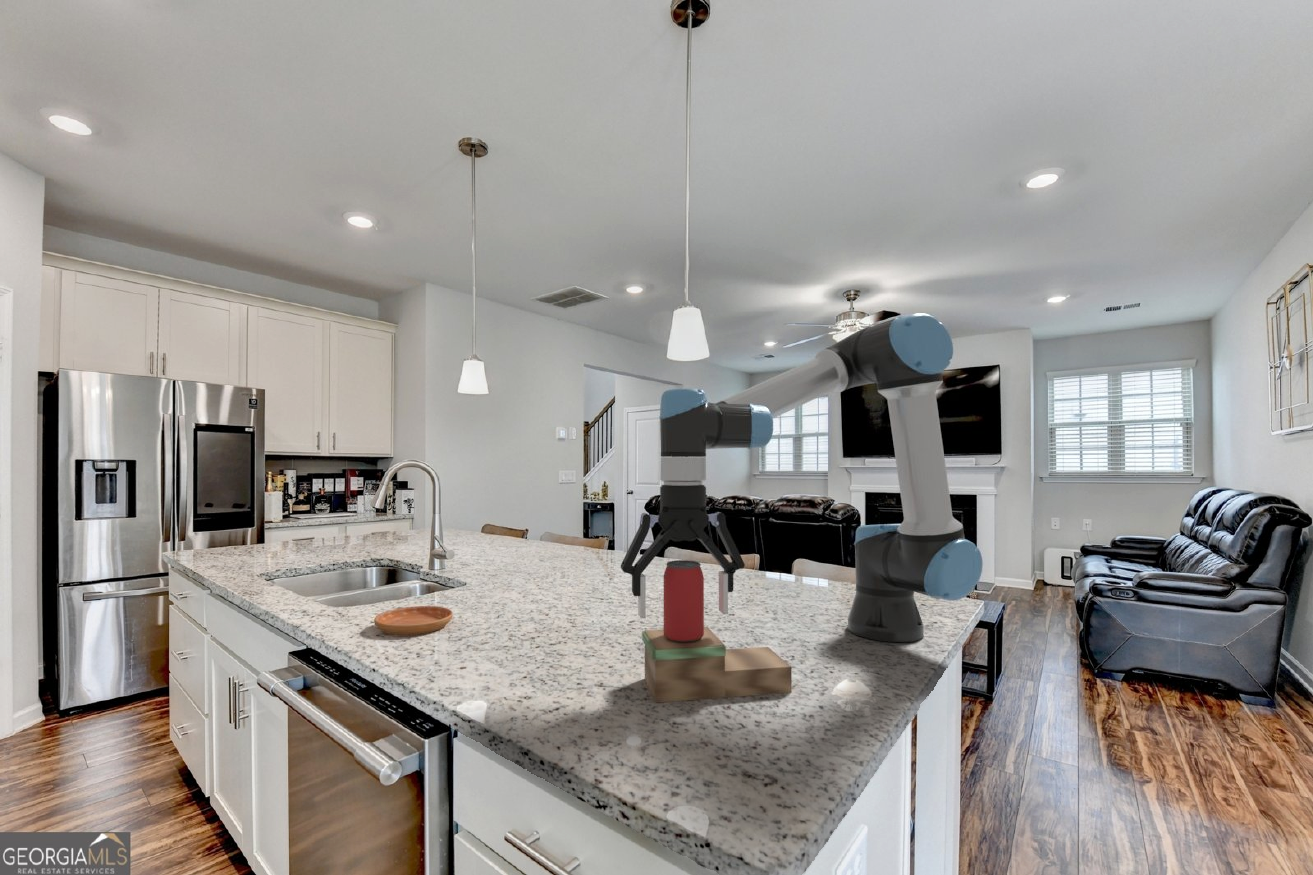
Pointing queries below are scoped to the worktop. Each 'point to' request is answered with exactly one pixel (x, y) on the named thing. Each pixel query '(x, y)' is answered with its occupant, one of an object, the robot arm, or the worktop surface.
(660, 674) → the step stand
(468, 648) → the worktop surface
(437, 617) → the saucer
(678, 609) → the beer can
